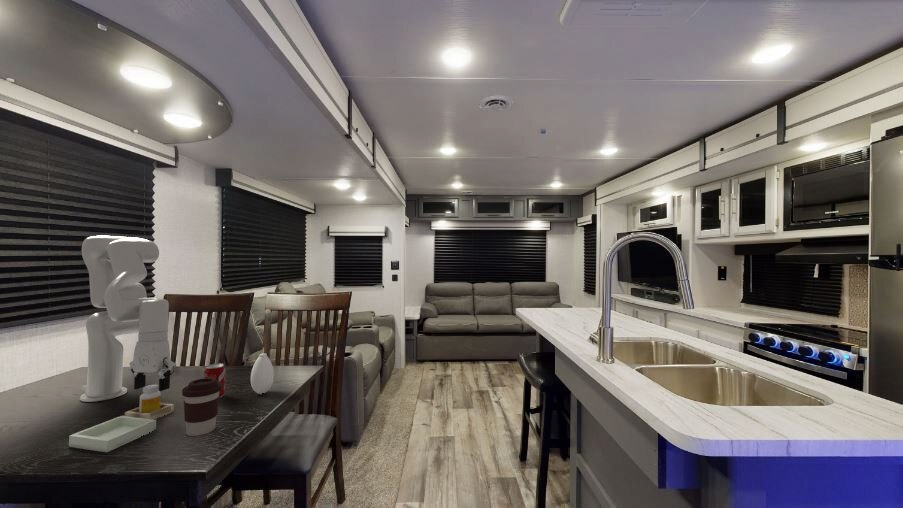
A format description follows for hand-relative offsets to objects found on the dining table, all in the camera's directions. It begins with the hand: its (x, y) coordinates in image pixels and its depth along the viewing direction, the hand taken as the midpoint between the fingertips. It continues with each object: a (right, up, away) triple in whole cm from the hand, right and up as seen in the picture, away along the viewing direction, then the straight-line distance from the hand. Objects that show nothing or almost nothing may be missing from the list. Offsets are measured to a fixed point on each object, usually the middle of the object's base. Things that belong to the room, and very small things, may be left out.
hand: (151, 388), depth 117 cm
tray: (+2, -9, -15) cm, 17 cm away
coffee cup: (+23, -9, -9) cm, 26 cm away
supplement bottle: (-1, -9, 0) cm, 9 cm away
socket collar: (-1, -9, 0) cm, 9 cm away
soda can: (+9, -10, +16) cm, 21 cm away
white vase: (+25, -10, +22) cm, 34 cm away
